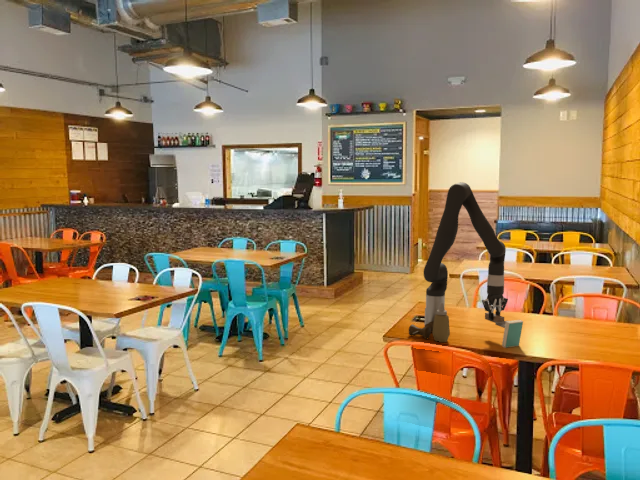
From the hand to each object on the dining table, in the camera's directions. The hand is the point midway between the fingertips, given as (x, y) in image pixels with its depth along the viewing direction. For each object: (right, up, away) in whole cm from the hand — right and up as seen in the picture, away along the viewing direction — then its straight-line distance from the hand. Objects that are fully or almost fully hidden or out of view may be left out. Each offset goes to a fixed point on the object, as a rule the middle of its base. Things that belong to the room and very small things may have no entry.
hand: (494, 319), depth 254 cm
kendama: (-32, -9, +7) cm, 34 cm away
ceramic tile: (+4, -10, -10) cm, 15 cm away
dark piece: (+1, -1, -3) cm, 4 cm away
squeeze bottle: (-26, -10, -2) cm, 28 cm away
